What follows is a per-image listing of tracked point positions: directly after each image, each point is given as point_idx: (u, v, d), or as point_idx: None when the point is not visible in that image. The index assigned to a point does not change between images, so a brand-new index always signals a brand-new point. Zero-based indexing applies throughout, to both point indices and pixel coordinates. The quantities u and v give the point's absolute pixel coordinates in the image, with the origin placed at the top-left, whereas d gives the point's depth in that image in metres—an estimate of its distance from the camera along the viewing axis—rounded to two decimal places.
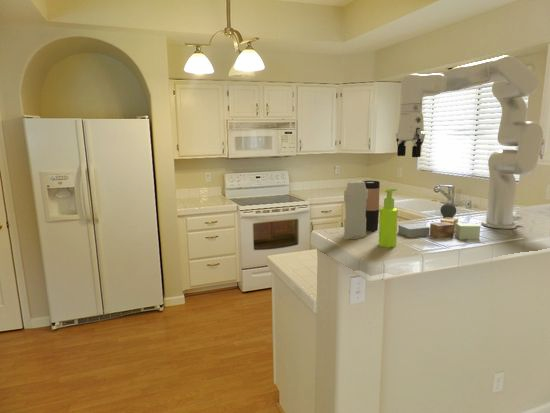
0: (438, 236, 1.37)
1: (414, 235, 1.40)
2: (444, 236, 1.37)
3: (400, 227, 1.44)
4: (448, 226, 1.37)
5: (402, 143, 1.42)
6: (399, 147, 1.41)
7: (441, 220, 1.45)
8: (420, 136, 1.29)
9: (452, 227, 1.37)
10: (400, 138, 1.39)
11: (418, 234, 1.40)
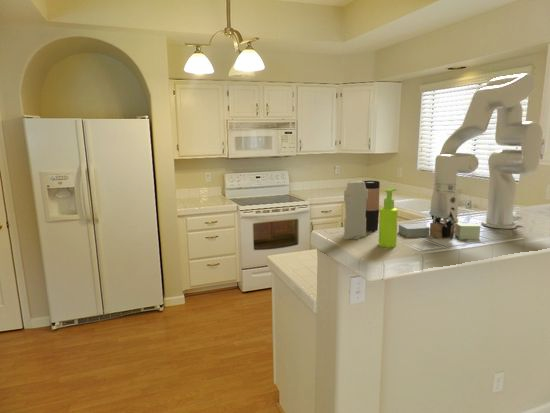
0: (438, 236, 1.37)
1: (413, 235, 1.40)
2: None
3: (400, 227, 1.45)
4: None
5: (438, 220, 1.41)
6: None
7: (441, 220, 1.45)
8: (452, 220, 1.32)
9: (452, 227, 1.37)
10: (433, 213, 1.40)
11: (416, 234, 1.40)
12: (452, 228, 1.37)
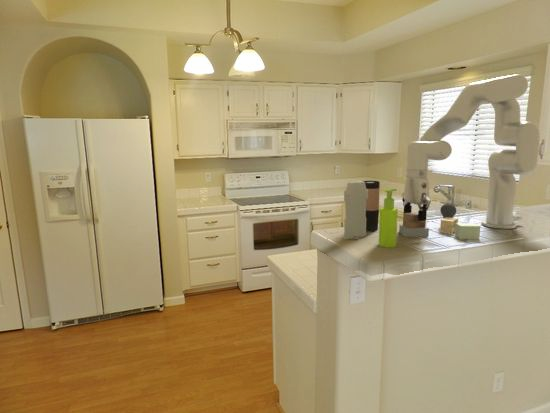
0: (410, 225, 1.40)
1: (411, 235, 1.40)
2: (416, 225, 1.41)
3: (400, 226, 1.46)
4: None
5: (408, 203, 1.46)
6: (405, 207, 1.46)
7: (441, 220, 1.45)
8: (426, 202, 1.34)
9: None
10: (406, 200, 1.43)
11: (415, 234, 1.40)
12: None
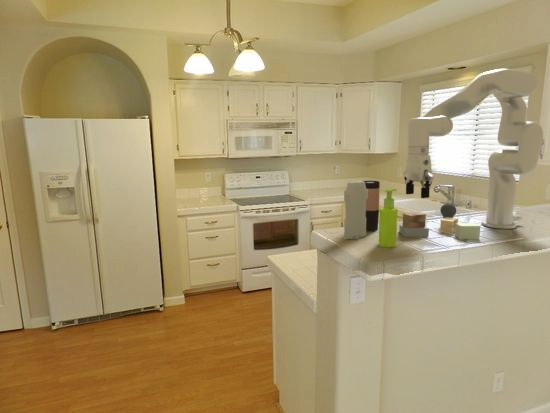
0: (410, 226, 1.40)
1: (411, 235, 1.40)
2: (416, 226, 1.41)
3: (400, 227, 1.46)
4: (420, 216, 1.40)
5: (410, 182, 1.45)
6: (407, 186, 1.44)
7: (441, 220, 1.45)
8: (428, 179, 1.32)
9: (424, 217, 1.41)
10: (408, 178, 1.42)
11: (415, 234, 1.40)
12: (424, 218, 1.41)
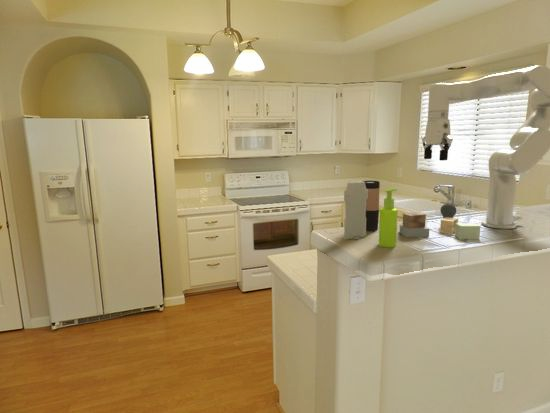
0: (410, 226, 1.40)
1: (411, 235, 1.40)
2: (416, 226, 1.40)
3: (400, 227, 1.45)
4: (420, 216, 1.40)
5: (428, 147, 1.52)
6: (426, 151, 1.51)
7: (441, 220, 1.45)
8: (448, 141, 1.39)
9: (424, 217, 1.41)
10: (427, 142, 1.49)
11: (416, 234, 1.40)
12: (424, 218, 1.41)
